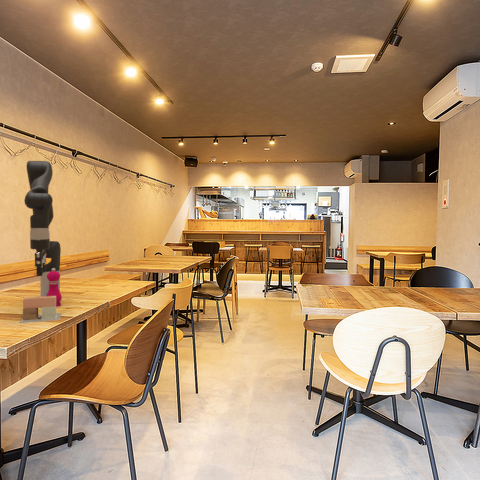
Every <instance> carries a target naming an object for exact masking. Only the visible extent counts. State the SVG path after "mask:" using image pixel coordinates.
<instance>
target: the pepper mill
mask: <svg viewBox="0 0 480 480" xmlns="http://www.w3.org/2000/svg"><path fill="white" fill-rule="evenodd" d="M59 278H60V279H61V272H60V273H59V272H57V271H55V268H52V271H51V272H49V273H48V274H47V279H48V280H49V281H48V284H49V291H48V293H47V296H56V308H60V307H62V303H61V301H62V299H63V298H62V297H63V296H62V293H61V290H60V291H59V288H58V283H59Z"/></svg>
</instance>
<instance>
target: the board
mask: <svg viewBox="0 0 480 480" xmlns="http://www.w3.org/2000/svg"><path fill="white" fill-rule="evenodd" d="M62 314H63V313H62V312H59V313H57V312H56V317H55V318H49V319H42V314H38V318H37V320H26V321H23V317H22V318H21V319H20V321H19V322H18V324H25V323H27V324H28V323H37V322H48V321H50V322H51V321H58V320H59V321H60V319H61V317H62Z"/></svg>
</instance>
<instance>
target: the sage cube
mask: <svg viewBox="0 0 480 480" xmlns="http://www.w3.org/2000/svg"><path fill="white" fill-rule="evenodd" d="M56 313H57V307H56V306H55V307H41V315H42V319H49V318H55V317H56Z"/></svg>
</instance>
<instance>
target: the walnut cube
mask: <svg viewBox="0 0 480 480" xmlns="http://www.w3.org/2000/svg"><path fill="white" fill-rule="evenodd" d="M38 315H39V308H26V309H23V308H22V318H23V321H26V320H37V318H38Z"/></svg>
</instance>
